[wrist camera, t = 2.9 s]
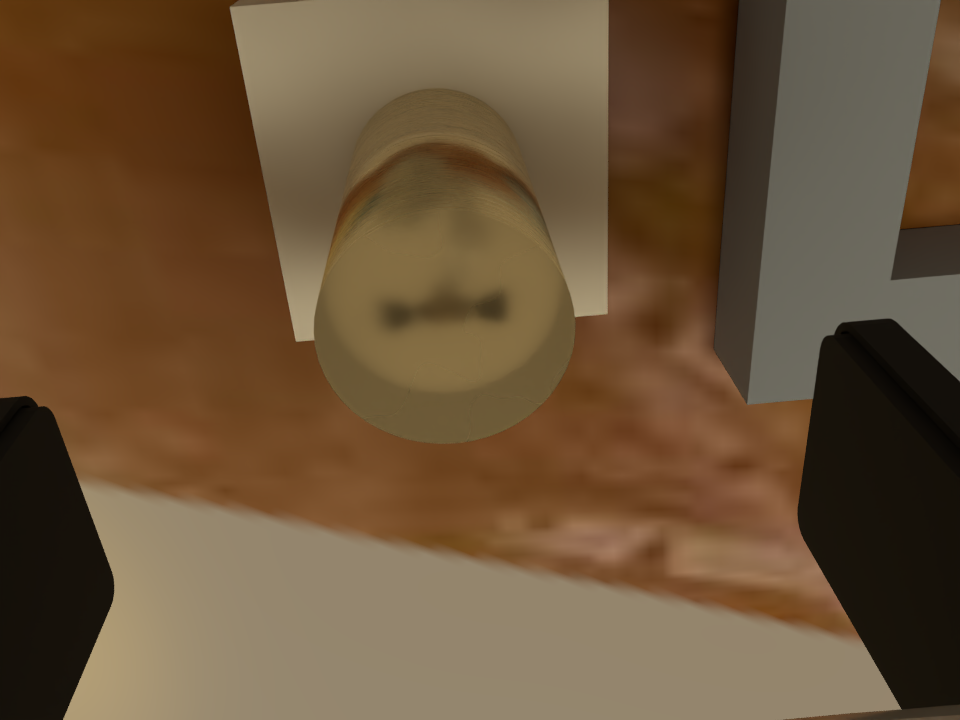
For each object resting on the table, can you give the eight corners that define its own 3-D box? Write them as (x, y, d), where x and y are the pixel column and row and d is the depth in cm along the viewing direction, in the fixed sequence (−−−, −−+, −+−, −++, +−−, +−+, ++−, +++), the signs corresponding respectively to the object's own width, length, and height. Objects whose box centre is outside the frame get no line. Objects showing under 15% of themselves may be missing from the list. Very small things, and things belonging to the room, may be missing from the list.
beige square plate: (246, -6, 20) (229, 7, 18) (592, -34, 20) (608, -25, 18) (305, 307, 24) (295, 341, 22) (594, 281, 24) (607, 314, 22)
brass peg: (339, 96, 19) (291, 224, 12) (519, 80, 19) (573, 199, 12) (363, 262, 21) (335, 454, 14) (526, 248, 21) (577, 432, 14)
